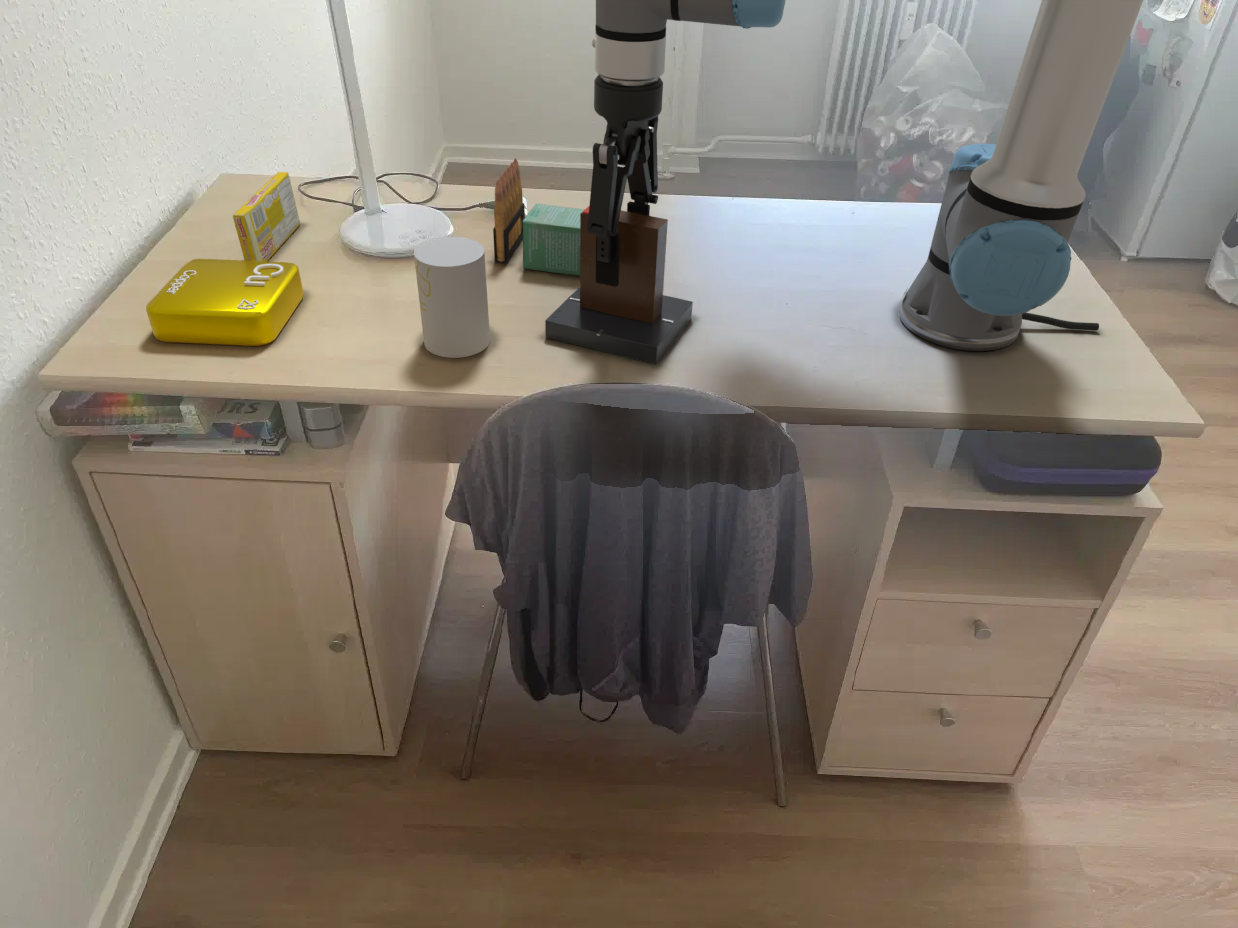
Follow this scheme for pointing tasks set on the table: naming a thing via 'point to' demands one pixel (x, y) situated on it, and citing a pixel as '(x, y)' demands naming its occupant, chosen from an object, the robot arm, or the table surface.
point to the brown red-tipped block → (627, 268)
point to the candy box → (267, 219)
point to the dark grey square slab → (619, 329)
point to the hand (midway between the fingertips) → (622, 268)
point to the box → (552, 239)
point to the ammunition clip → (508, 214)
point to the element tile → (226, 302)
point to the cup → (453, 296)
